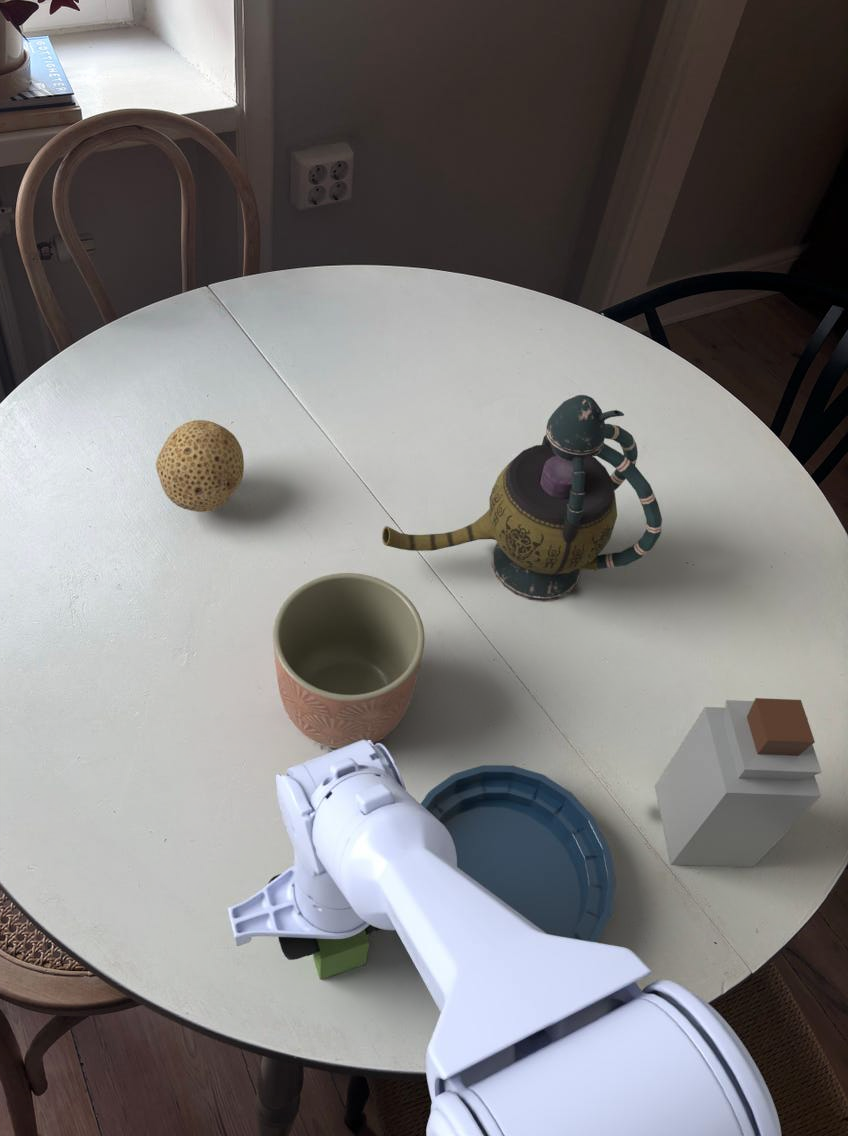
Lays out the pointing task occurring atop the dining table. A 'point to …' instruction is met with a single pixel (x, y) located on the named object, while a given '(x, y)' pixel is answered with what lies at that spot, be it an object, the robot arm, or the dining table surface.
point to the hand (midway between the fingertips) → (333, 931)
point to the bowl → (529, 847)
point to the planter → (347, 657)
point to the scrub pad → (341, 954)
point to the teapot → (556, 506)
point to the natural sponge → (200, 466)
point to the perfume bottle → (738, 782)
